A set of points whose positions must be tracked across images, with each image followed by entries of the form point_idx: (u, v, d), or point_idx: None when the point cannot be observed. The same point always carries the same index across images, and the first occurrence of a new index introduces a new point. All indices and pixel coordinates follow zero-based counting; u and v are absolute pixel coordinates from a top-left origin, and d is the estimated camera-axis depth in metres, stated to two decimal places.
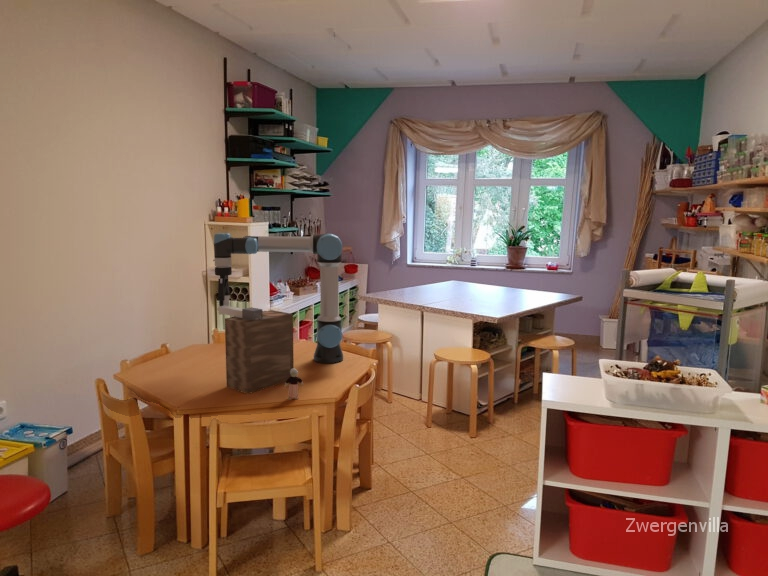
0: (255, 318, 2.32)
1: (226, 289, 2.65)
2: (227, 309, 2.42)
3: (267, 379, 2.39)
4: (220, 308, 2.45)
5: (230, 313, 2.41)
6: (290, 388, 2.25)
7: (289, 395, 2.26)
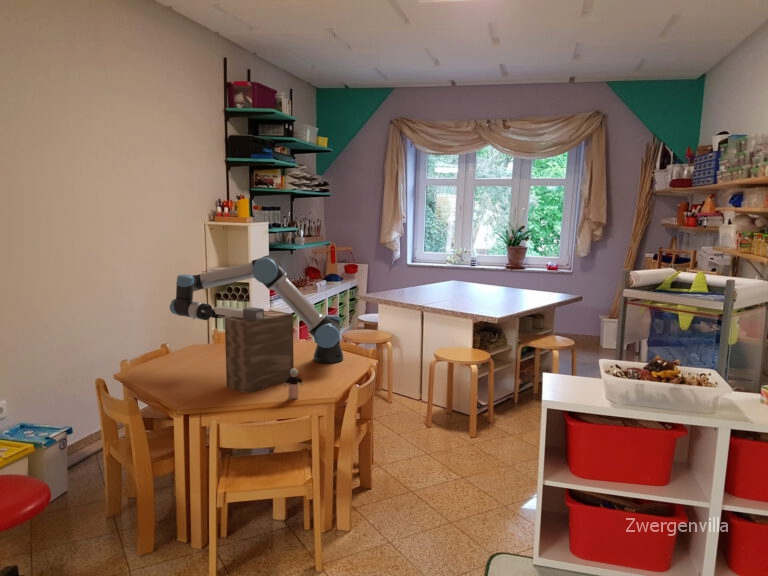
0: (257, 318, 2.33)
1: None
2: (225, 310, 2.41)
3: (267, 379, 2.39)
4: (217, 309, 2.43)
5: (229, 314, 2.40)
6: (290, 388, 2.25)
7: (289, 395, 2.26)
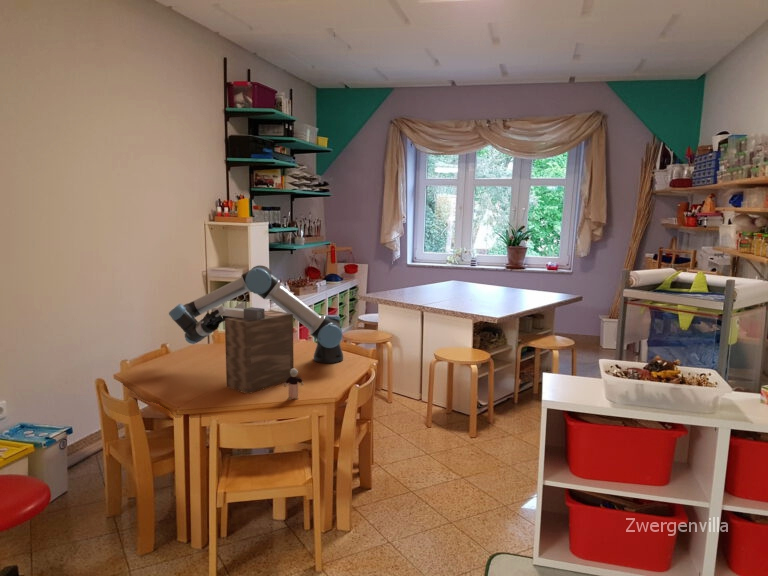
0: (258, 317, 2.34)
1: None
2: None
3: (267, 379, 2.39)
4: (215, 309, 2.42)
5: (228, 314, 2.39)
6: (290, 388, 2.25)
7: (289, 395, 2.26)
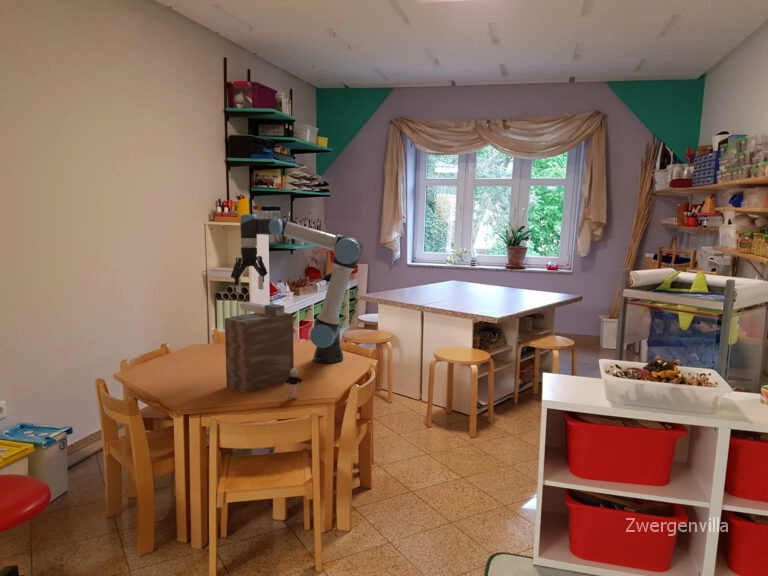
0: (277, 314, 2.42)
1: (258, 269, 2.71)
2: (249, 305, 2.51)
3: (267, 379, 2.39)
4: (242, 305, 2.54)
5: (253, 310, 2.50)
6: (290, 388, 2.25)
7: (289, 395, 2.26)
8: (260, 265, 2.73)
